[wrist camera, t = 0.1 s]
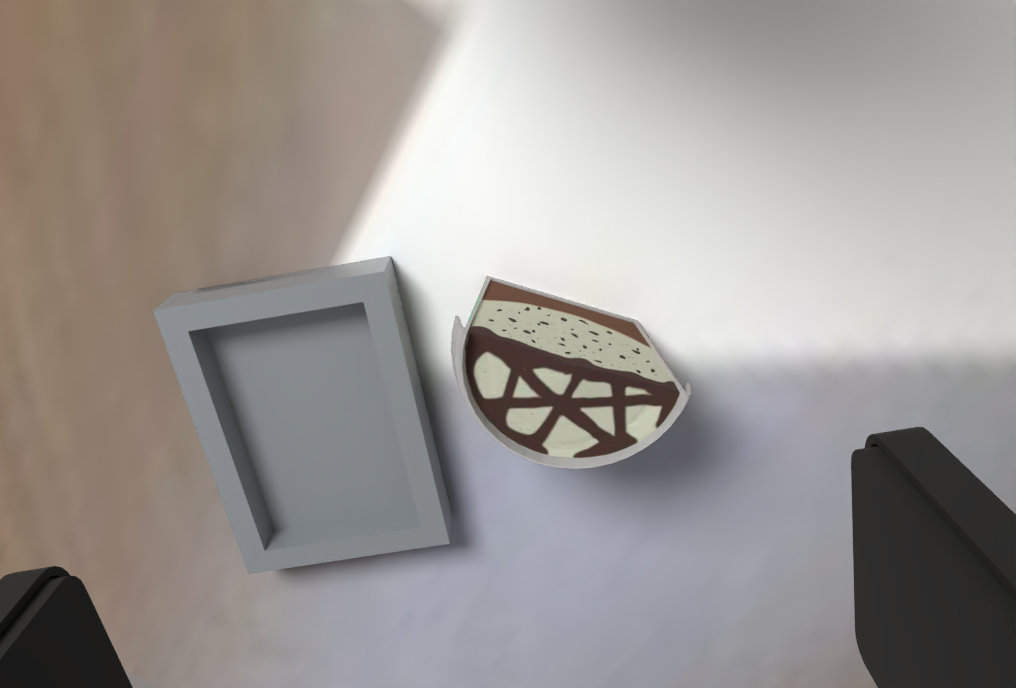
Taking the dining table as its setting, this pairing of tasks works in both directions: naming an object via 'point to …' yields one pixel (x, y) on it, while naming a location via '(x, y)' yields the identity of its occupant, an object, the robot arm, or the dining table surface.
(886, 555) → the robot arm
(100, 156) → the dining table surface
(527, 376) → the food container
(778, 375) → the dining table surface
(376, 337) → the tray
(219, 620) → the dining table surface
